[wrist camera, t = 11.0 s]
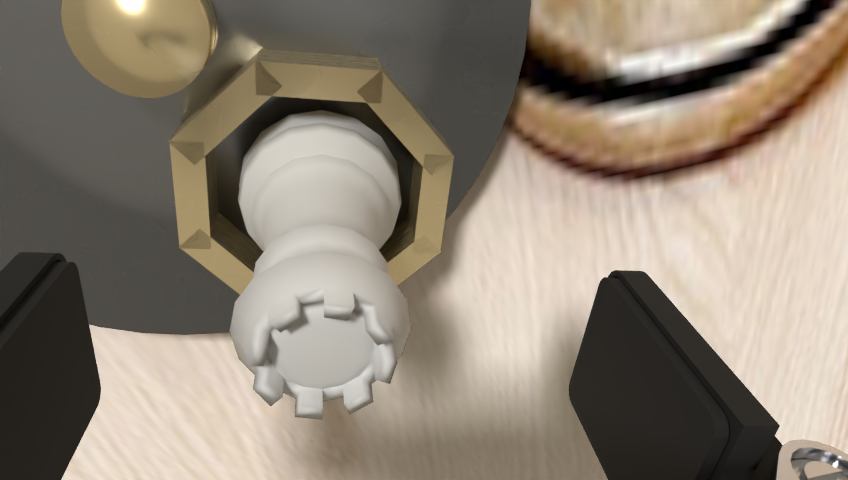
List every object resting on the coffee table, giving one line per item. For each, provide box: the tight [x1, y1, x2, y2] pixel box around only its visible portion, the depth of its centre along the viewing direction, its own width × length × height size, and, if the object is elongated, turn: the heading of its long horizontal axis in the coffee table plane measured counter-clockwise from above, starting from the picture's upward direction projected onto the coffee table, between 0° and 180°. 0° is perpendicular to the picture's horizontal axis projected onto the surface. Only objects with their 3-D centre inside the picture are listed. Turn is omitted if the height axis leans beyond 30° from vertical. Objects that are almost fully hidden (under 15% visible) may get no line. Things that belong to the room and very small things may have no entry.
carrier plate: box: [0, 0, 531, 335], centre depth 14 cm, size 19×19×3 cm
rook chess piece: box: [230, 110, 411, 419], centre depth 13 cm, size 4×4×8 cm
